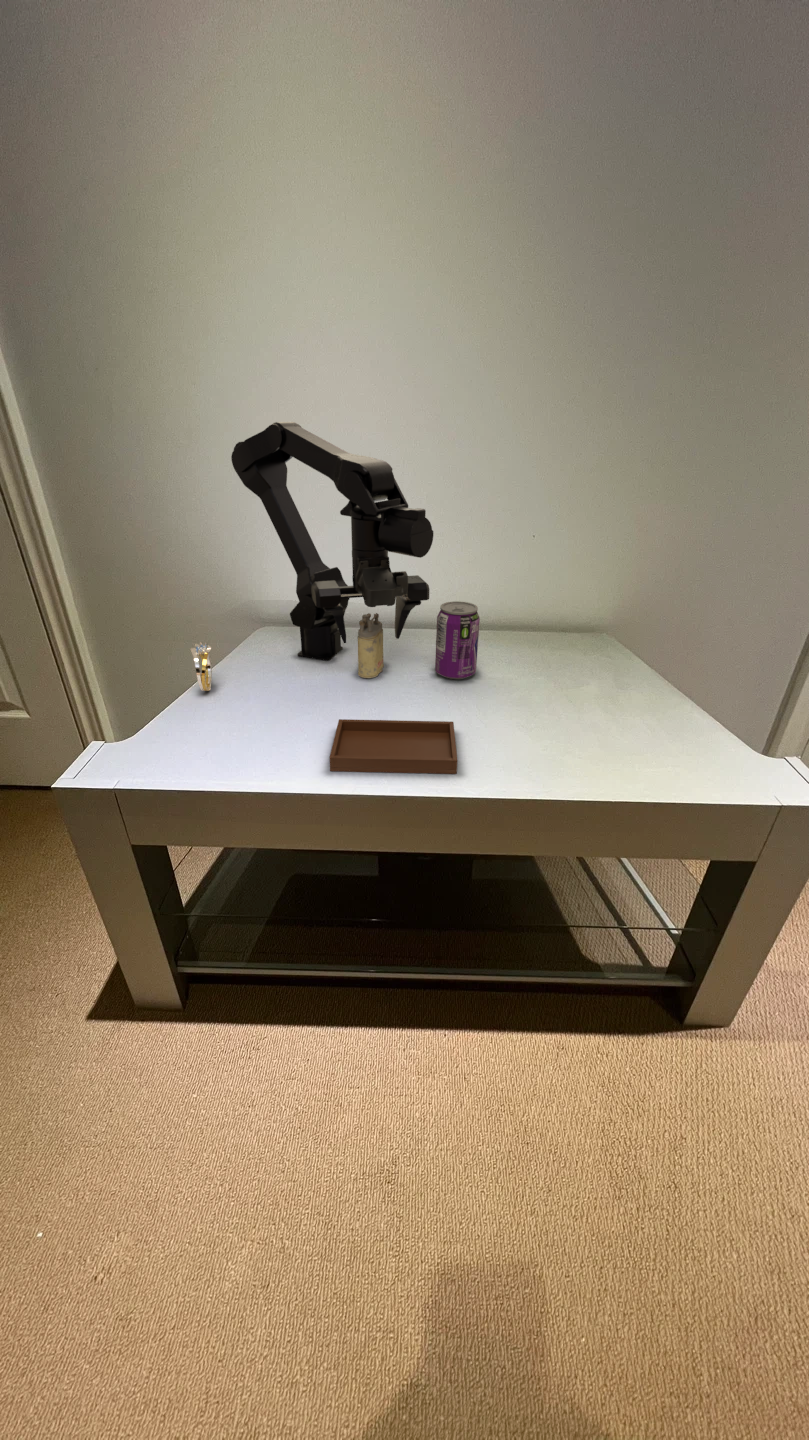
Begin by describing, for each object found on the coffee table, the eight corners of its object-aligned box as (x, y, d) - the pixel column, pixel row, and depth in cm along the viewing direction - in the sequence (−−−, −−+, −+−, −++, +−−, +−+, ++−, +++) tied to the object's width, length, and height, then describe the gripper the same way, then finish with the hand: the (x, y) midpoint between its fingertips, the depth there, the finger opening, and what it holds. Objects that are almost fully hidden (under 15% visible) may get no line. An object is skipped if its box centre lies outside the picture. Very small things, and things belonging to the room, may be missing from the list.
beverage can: (473, 683, 100) (478, 615, 94) (431, 680, 101) (434, 612, 95) (477, 667, 106) (482, 602, 100) (438, 663, 107) (440, 599, 101)
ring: (213, 699, 93) (205, 652, 90) (192, 699, 93) (184, 652, 89) (221, 680, 100) (215, 635, 96) (202, 681, 99) (194, 636, 95)
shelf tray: (330, 771, 76) (329, 757, 75) (339, 732, 85) (338, 719, 84) (456, 774, 76) (457, 760, 75) (452, 734, 85) (453, 721, 84)
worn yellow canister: (367, 662, 107) (366, 608, 102) (387, 664, 107) (387, 610, 102) (355, 677, 101) (353, 621, 96) (377, 680, 100) (376, 623, 96)
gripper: (318, 562, 85) (324, 663, 92) (442, 556, 89) (437, 652, 97) (308, 545, 94) (314, 638, 102) (420, 540, 99) (418, 629, 106)
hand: (371, 640), depth 101 cm, fingers open, 9 cm apart
